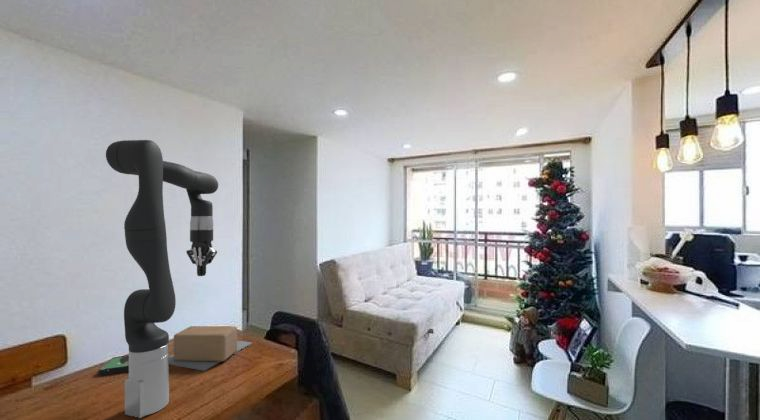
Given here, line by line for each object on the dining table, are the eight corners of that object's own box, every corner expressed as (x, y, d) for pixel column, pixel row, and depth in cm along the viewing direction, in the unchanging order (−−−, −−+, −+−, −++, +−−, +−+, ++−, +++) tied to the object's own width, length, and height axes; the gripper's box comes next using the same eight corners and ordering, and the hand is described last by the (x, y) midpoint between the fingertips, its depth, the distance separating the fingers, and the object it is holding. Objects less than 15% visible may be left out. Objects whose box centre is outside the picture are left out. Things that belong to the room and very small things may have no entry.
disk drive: (158, 358, 122) (112, 364, 117) (158, 351, 122) (112, 356, 117) (148, 370, 112) (97, 377, 107) (148, 363, 112) (97, 369, 107)
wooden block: (238, 325, 125) (190, 325, 126) (224, 335, 115) (172, 334, 116) (238, 350, 124) (190, 350, 126) (224, 362, 114) (172, 361, 116)
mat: (204, 370, 110) (204, 369, 110) (159, 362, 117) (159, 360, 117) (252, 344, 132) (252, 342, 132) (212, 338, 139) (212, 337, 139)
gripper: (179, 229, 114) (178, 276, 114) (206, 228, 110) (206, 278, 109) (197, 228, 121) (196, 273, 121) (223, 228, 117) (223, 274, 116)
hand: (201, 275), depth 115 cm, fingers closed
